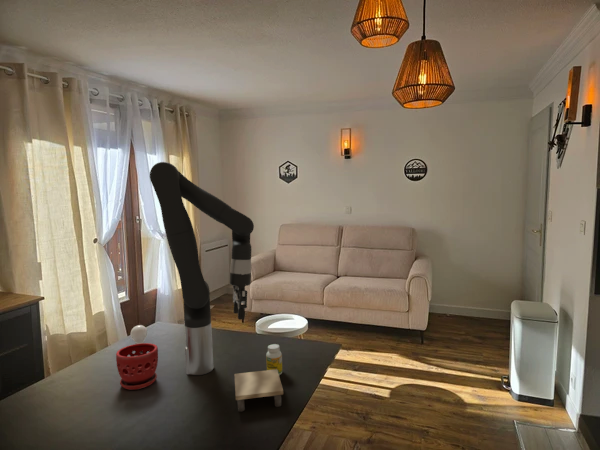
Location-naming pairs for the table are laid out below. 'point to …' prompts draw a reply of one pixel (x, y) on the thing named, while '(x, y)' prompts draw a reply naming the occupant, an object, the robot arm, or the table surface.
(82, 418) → the table surface
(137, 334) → the lightbulb
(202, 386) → the table surface
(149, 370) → the plant pot
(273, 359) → the supplement bottle
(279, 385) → the peg shelf
